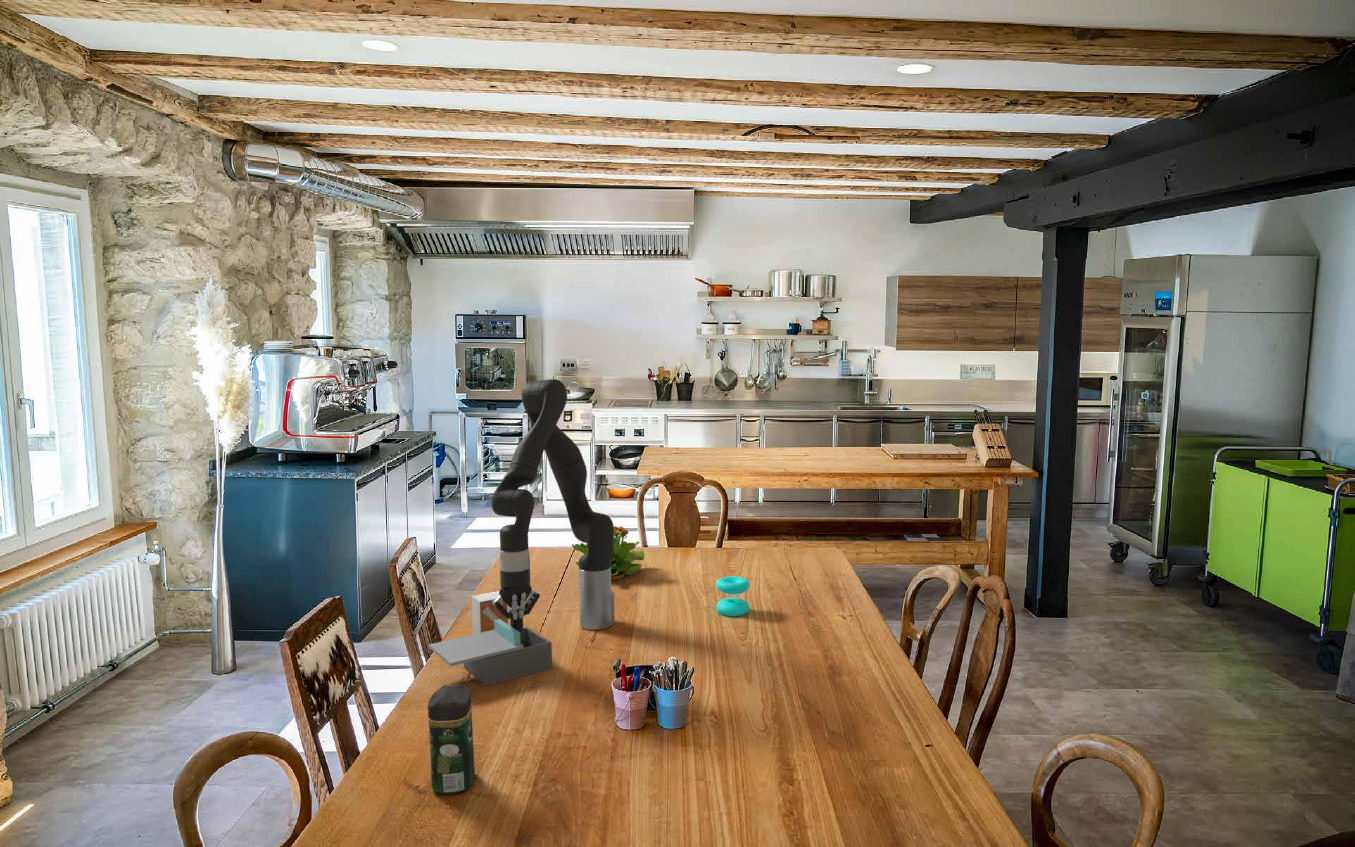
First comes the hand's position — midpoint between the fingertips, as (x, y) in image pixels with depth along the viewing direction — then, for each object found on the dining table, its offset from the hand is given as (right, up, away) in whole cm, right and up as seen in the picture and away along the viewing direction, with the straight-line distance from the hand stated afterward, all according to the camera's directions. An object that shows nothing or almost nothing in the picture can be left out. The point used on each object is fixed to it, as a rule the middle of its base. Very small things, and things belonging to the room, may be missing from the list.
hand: (516, 631), depth 225 cm
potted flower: (+17, 0, +77) cm, 79 cm away
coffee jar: (-2, -16, -55) cm, 57 cm away
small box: (-11, -7, +18) cm, 22 cm away
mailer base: (-2, -9, 0) cm, 9 cm away
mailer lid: (-9, -3, -6) cm, 11 cm away
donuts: (+58, -4, +41) cm, 71 cm away
